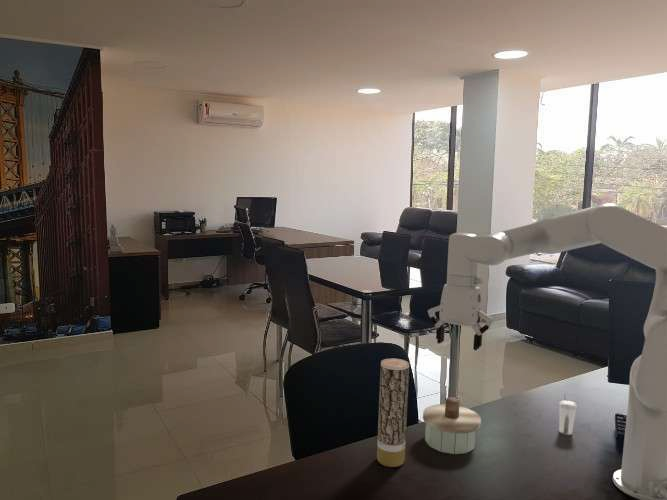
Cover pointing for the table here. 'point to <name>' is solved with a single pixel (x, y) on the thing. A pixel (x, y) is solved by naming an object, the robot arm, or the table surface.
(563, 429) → the milkshake
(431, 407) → the lid
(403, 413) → the log-textured cylinder
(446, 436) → the bowl
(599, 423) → the table surface
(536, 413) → the table surface
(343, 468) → the table surface
